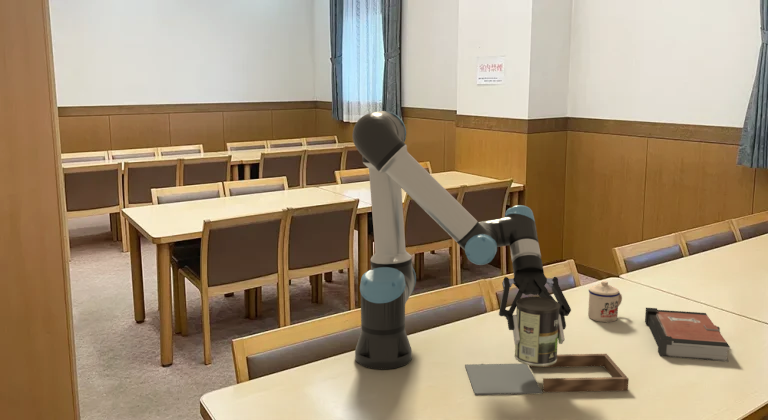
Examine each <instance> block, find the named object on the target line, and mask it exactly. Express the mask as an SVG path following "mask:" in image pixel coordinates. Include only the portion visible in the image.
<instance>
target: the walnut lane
mask: <svg viewBox="0 0 768 420" xmlns="http://www.w3.org/2000/svg"><path fill="white" fill-rule="evenodd" d="M528 367H529V369H531V368H535V369H536V368H579V367H580V368H583V367H585V368H586V367H589V368H590V367H591V368H592V367H604V369H605V370H606V372H608V374H609V375H610V376H607V377H605V376H604V377H601V376H600V377H599V376H598V377H561V378H559V377H554V378H553V377H550V378H549V377H547V378H542V392H543V393H565V392H566V393H567V392H568V393H569V392H572V393H573V392H576V393H577V392H620V391H622V392H626V391H629V377H627V375H626V374H625V373H624V372H623V370H622V369H621V368H620V367H619V366H618V365H617V363H615V361H614V360H613V359H612V358H611V357H610V356H609V354H608V353H576V354H574V353H572V354H568V353H567V354H561V353H560V354H557V361H556V363H554V364H553V365H549V366H530V365H528Z"/></svg>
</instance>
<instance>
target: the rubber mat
mask: <svg viewBox="0 0 768 420" xmlns="http://www.w3.org/2000/svg"><path fill="white" fill-rule="evenodd" d="M464 367H465V370H466V372H467V373H466V374H467V376H468V378H469V382H470V384H471V388H472V391H473V394H474V395H475V396H481V395H482V396H483V395H484V396H487V395H489V396H490V395H491V396H493V395H539V394H540V395H541V394H542V395H543V393H544V392H543V389H541V386H540V385H539V383H538V381H537V380H536V378H535V376H534V374H533V372H532V370H531V368H530V367H529V365H526V364H523V363H521V362H520V363H478V364H475V363H473V364H471V363H470V364H469V363H468V364H464Z"/></svg>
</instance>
